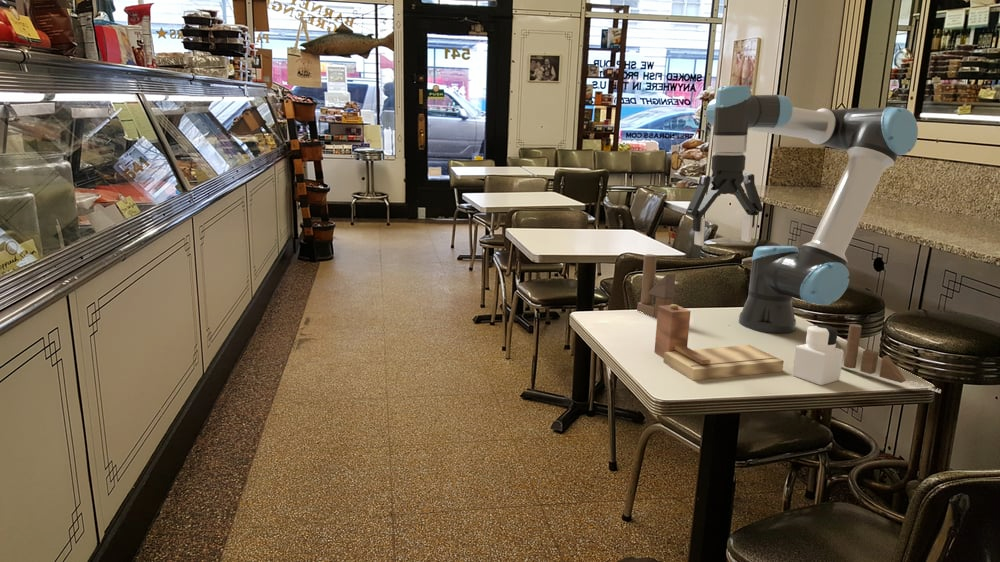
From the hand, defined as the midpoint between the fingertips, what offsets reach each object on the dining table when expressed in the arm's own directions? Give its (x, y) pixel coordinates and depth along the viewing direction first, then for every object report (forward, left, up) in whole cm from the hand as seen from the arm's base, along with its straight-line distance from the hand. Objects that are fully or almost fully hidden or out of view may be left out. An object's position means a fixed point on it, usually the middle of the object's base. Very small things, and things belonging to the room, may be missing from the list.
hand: (722, 243), depth 165 cm
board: (+6, +12, -27) cm, 30 cm away
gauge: (+14, +2, -27) cm, 30 cm away
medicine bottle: (-11, +24, -27) cm, 37 cm away
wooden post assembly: (-1, -29, -27) cm, 40 cm away
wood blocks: (-27, +26, -27) cm, 46 cm away
